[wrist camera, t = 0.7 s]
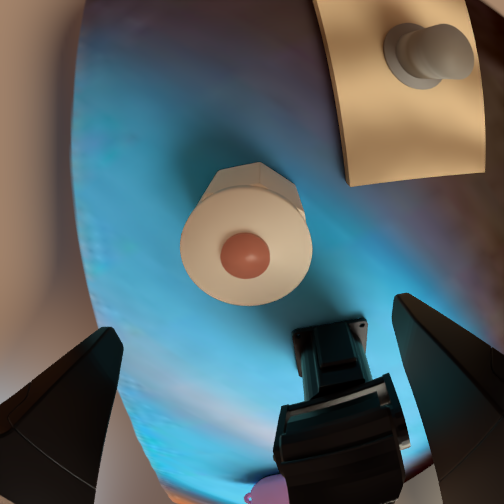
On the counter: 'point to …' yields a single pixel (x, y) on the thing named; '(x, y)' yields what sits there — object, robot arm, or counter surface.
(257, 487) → the teapot
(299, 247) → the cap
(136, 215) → the counter surface
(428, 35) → the stud block
